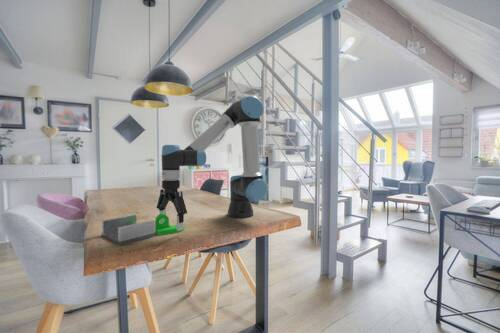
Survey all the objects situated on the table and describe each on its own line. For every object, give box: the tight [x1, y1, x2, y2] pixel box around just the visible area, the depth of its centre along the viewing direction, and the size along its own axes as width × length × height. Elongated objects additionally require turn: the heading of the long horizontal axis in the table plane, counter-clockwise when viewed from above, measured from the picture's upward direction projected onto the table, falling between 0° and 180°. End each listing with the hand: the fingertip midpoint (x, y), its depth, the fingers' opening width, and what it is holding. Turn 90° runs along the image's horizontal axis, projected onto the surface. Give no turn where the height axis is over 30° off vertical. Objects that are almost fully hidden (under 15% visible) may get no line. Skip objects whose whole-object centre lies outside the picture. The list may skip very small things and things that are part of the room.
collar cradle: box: [100, 213, 156, 246], centre depth 102 cm, size 19×14×6 cm
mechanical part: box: [154, 213, 185, 236], centre depth 108 cm, size 12×6×8 cm, turn 121°
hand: (171, 227), depth 106 cm, fingers open, 13 cm apart
